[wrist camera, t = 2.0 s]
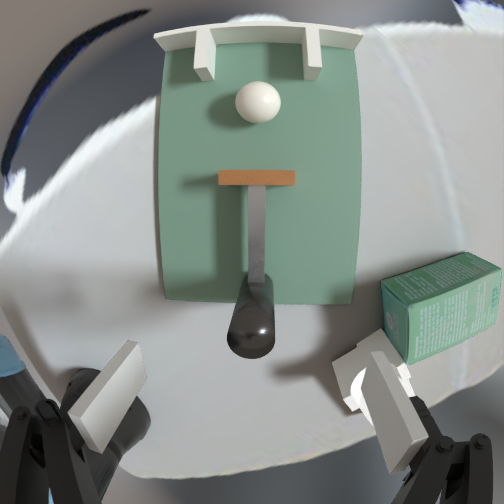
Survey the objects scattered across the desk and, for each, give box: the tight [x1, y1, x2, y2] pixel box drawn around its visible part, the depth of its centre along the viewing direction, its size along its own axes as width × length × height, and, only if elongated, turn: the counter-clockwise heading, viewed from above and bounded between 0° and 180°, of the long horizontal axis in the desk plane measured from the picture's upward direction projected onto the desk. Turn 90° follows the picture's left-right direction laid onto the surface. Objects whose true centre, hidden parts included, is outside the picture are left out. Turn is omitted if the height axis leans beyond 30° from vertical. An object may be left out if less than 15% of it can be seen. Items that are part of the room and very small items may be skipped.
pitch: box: [154, 21, 363, 304], centre depth 23 cm, size 20×28×4 cm
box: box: [381, 252, 502, 365], centre depth 24 cm, size 7×14×8 cm, turn 106°
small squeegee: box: [218, 170, 295, 359], centre depth 21 cm, size 6×13×10 cm, turn 0°
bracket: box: [332, 328, 415, 426], centre depth 27 cm, size 13×7×8 cm, turn 35°
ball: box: [235, 81, 281, 123], centre depth 21 cm, size 4×4×4 cm
